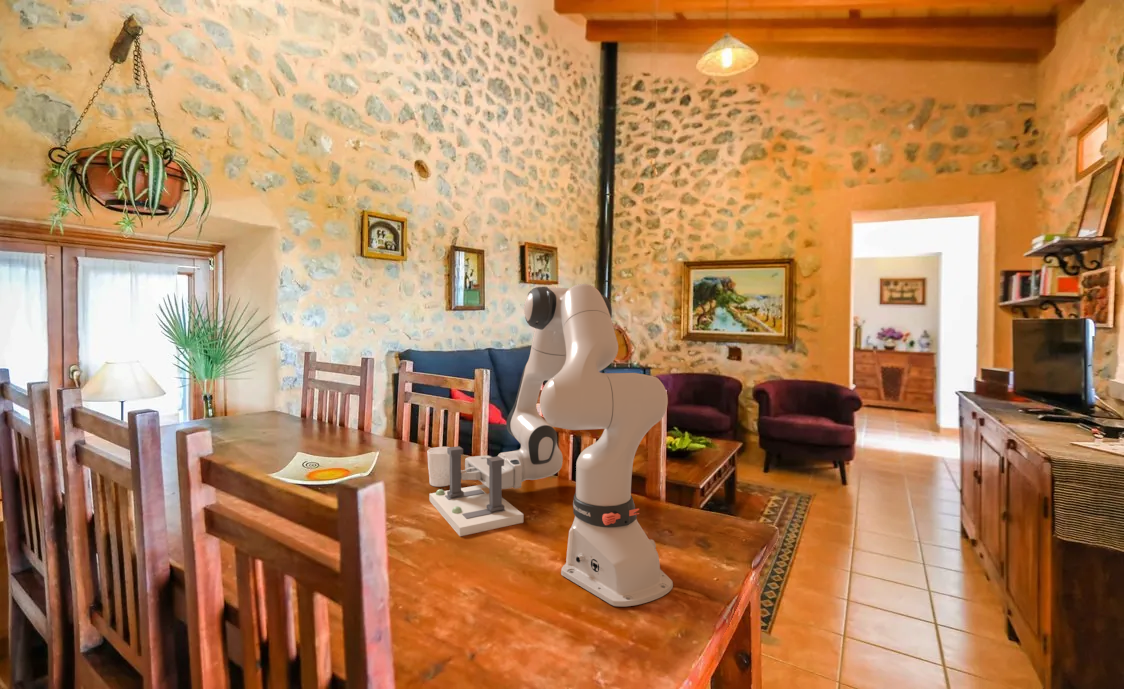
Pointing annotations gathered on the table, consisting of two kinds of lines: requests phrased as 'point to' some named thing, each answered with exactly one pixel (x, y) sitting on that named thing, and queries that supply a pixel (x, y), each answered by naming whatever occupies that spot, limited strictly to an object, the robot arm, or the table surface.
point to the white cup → (439, 466)
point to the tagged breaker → (455, 471)
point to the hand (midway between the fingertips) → (459, 475)
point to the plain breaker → (495, 483)
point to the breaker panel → (473, 510)
